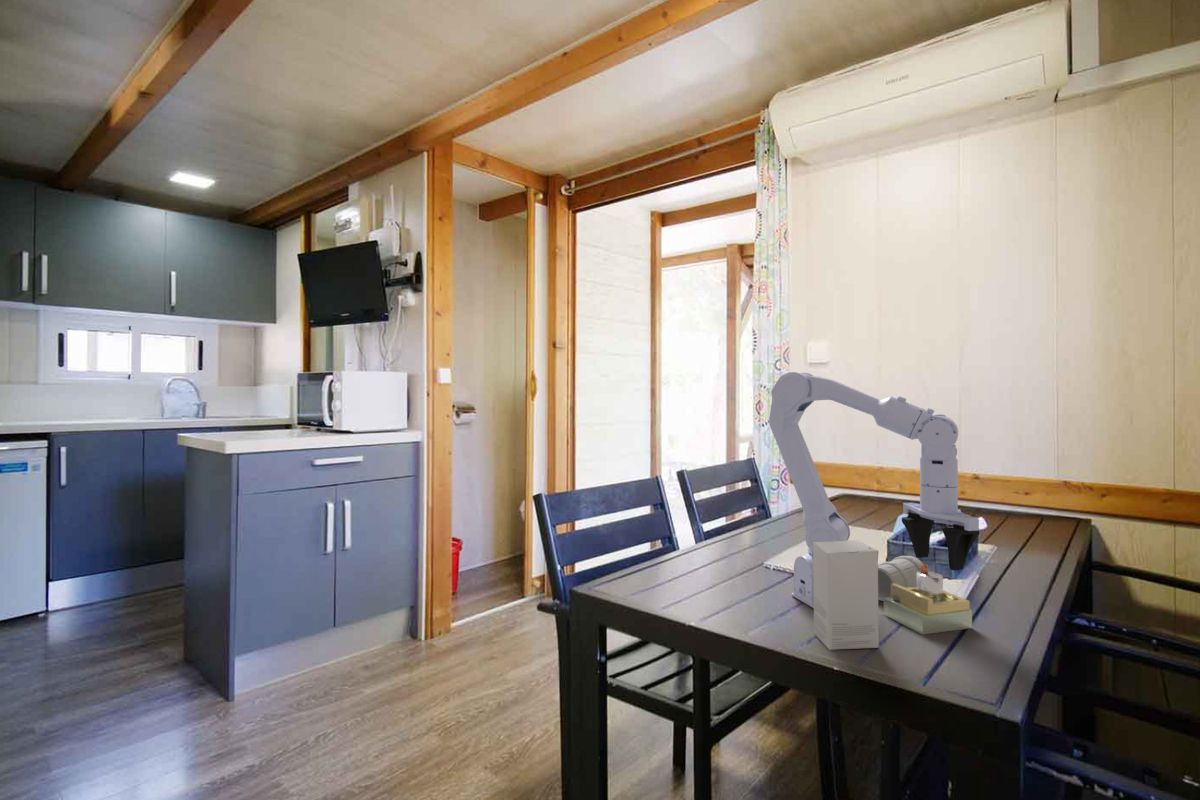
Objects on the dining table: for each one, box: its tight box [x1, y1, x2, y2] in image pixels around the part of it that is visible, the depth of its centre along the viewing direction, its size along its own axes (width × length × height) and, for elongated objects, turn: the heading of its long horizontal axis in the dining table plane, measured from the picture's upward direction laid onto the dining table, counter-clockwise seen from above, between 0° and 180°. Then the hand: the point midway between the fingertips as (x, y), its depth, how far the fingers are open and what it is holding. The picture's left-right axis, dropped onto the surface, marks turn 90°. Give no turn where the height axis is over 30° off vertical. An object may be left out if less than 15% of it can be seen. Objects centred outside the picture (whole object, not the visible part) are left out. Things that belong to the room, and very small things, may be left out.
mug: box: [878, 555, 930, 602], centre depth 116 cm, size 8×12×12 cm
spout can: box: [916, 562, 944, 603], centre depth 104 cm, size 4×4×6 cm
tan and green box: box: [883, 583, 973, 635], centre depth 104 cm, size 10×9×6 cm
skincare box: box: [813, 539, 880, 651], centre depth 95 cm, size 8×7×16 cm
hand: (938, 563), depth 104 cm, fingers open, 7 cm apart
